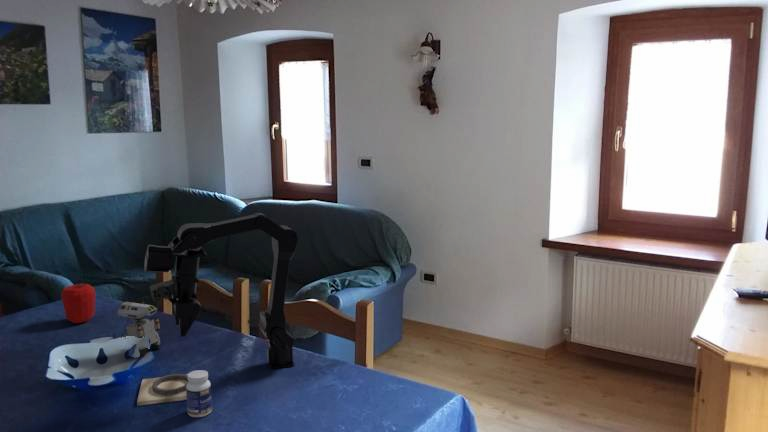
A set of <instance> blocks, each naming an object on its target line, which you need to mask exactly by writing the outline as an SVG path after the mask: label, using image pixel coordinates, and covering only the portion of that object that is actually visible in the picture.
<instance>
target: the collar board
mask: <svg viewBox="0 0 768 432" xmlns="http://www.w3.org/2000/svg"><path fill="white" fill-rule="evenodd" d="M188 374H189V373H186V374H183V373H175V374H167V375H164V376H161V377H153V378H152V377H151V378H143V379H142V381H141V384H140V387H139V392H138V397H137V401H136V406H137V407H138V406H146V405H154V404H156V405H157V404H161V403H170V402H179V401H187V394H186V385H187V383H188V382H189V381H188Z"/></svg>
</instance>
